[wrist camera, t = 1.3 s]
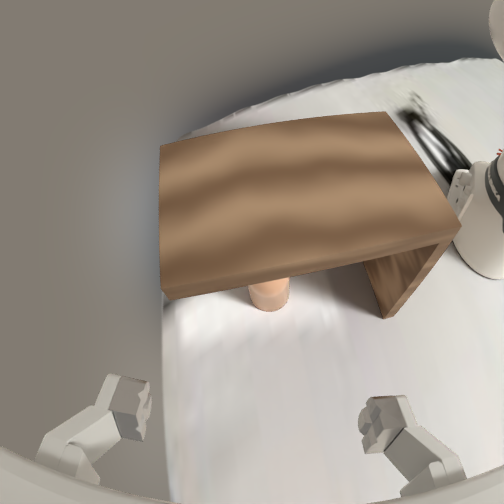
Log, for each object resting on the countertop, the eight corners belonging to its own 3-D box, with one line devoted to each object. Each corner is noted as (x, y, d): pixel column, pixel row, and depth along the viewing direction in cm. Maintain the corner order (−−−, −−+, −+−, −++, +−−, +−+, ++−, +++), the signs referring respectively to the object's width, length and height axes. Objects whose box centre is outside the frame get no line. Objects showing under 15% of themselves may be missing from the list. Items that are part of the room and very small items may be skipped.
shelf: (393, 316, 39) (462, 225, 22) (216, 356, 38) (160, 288, 21) (357, 223, 46) (385, 111, 29) (202, 253, 46) (160, 145, 29)
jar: (259, 270, 44) (251, 215, 34) (295, 283, 42) (299, 231, 32) (242, 303, 42) (229, 256, 31) (280, 318, 40) (279, 274, 30)
